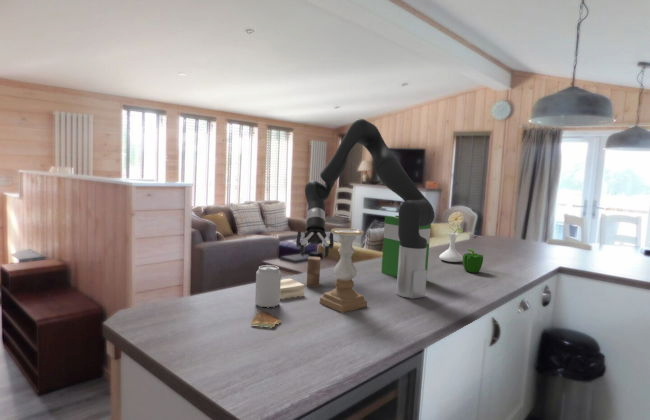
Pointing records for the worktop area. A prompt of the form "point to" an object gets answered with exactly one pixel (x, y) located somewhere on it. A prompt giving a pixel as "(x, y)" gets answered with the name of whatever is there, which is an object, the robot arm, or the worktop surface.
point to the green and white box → (397, 245)
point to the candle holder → (344, 275)
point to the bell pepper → (472, 261)
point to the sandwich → (265, 319)
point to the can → (268, 286)
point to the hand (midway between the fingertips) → (314, 256)
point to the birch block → (291, 288)
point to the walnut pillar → (313, 271)
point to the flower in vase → (453, 239)
